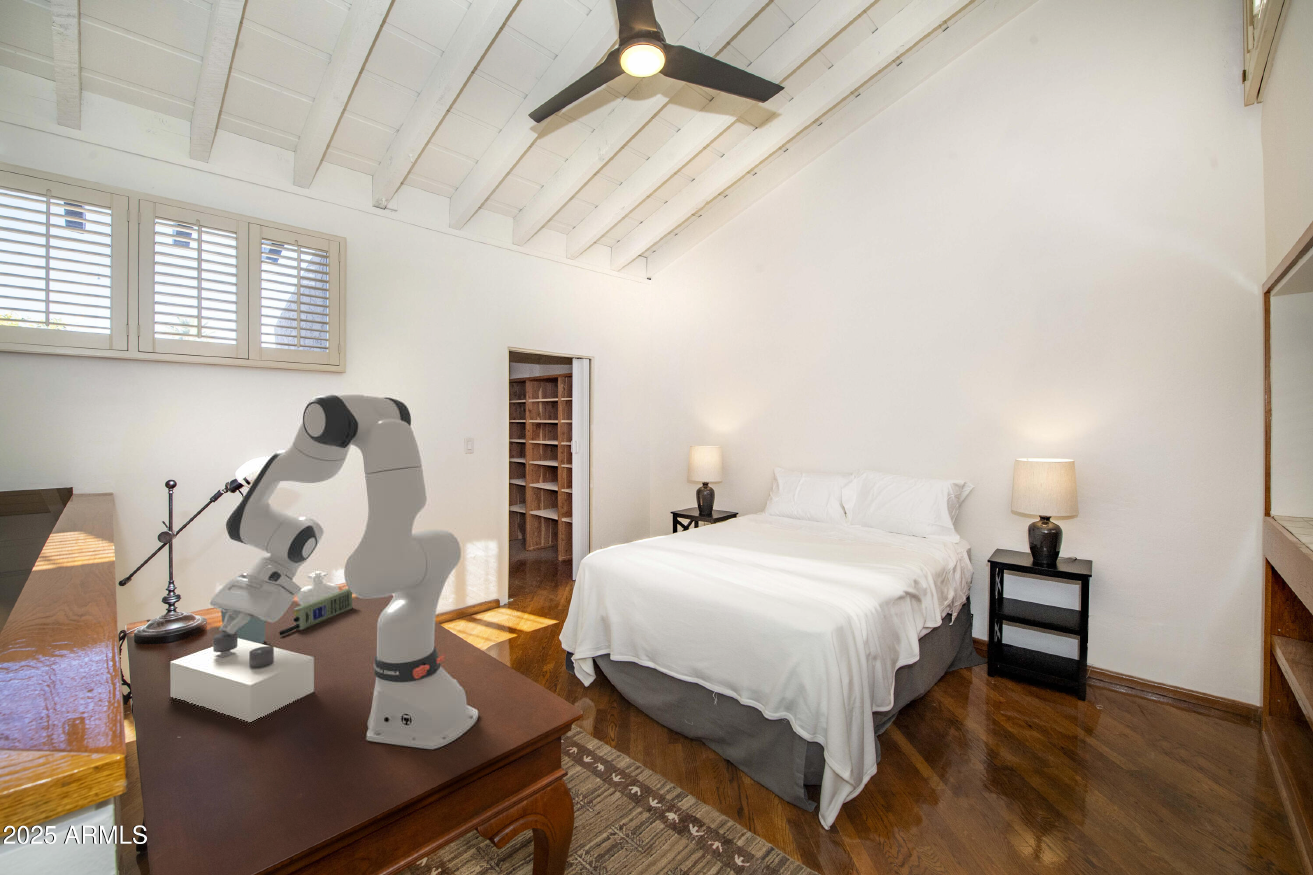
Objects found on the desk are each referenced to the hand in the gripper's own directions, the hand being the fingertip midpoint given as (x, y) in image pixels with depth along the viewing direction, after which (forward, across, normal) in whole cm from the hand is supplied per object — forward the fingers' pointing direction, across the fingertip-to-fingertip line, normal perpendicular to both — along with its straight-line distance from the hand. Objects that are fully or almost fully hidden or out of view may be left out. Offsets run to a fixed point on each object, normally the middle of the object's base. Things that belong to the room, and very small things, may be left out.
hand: (225, 632), depth 125 cm
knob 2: (+6, +12, +6) cm, 15 cm away
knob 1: (+5, 0, +5) cm, 7 cm away
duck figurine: (-24, -32, +44) cm, 59 cm away
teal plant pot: (-2, -20, +22) cm, 29 cm away
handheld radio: (-16, -18, +36) cm, 43 cm away
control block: (+9, +6, +9) cm, 15 cm away
